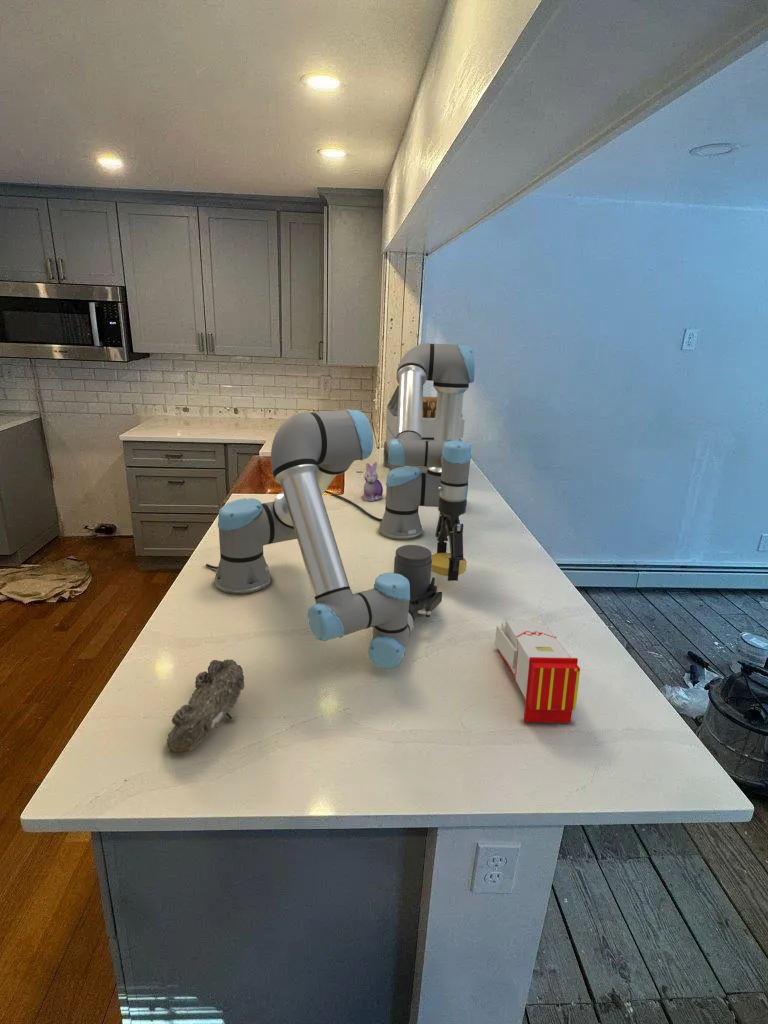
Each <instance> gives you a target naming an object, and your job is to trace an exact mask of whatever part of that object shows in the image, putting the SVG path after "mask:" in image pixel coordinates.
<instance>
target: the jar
mask: <svg viewBox="0 0 768 1024" xmlns="http://www.w3.org/2000/svg"><path fill="white" fill-rule="evenodd" d="M432 555H433V554H432V551H431V550H430V549H429V548H427V547H426V546H423V545H419V544H405V545H401V546H399V547H397V548H396V550H395V556H394V561H393V573H397V574H400V575H403V576H404V577H405V578H407V579H408V581H409V584H410V599H412V598H414V597H419V596H421V595H423V594H424V593H426V592H428V591H429V586H430V583H431V580H432V572H431V567H432V559H431V556H432ZM426 605H427V604H426ZM423 607H424V606H422V607H421V608H423ZM421 615H422V614H419V615H418V616H421Z"/></svg>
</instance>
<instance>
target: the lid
mask: <svg viewBox="0 0 768 1024" xmlns="http://www.w3.org/2000/svg"><path fill="white" fill-rule="evenodd" d="M431 555H432V556H431V559H432V567H431V573H433V574H435V575H439V576H442V577H443V576H444V577H448V570H449V559H448V558H451V553H450V552H446V553H437V552H436V553H432V554H431ZM467 564H468V561H467V560H466V558H464V557H463V560H460V562H459V573H458V576H461V575H463V574H465V573H466V571H467V566H468V565H467Z"/></svg>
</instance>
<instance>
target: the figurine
mask: <svg viewBox="0 0 768 1024" xmlns="http://www.w3.org/2000/svg"><path fill="white" fill-rule="evenodd" d="M365 464H366V465H365V466H366V467H365V470H366V471H365V474H364V475H363V476H364V480H365V483H364V485H363V495H362V498H363V500H364V501H368V502H373V501H378V500H381V499H382V498H383V493H384V487H383V483H382V482H381V481H380V480H379V475H378V473H377V468H378V462H377V461H375V462H374V463H373V464H372V465H370V463H369V462H366V463H365Z"/></svg>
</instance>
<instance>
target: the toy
mask: <svg viewBox="0 0 768 1024" xmlns="http://www.w3.org/2000/svg"><path fill="white" fill-rule="evenodd" d="M494 645H495V647H496V648H497V651H498V653H499V654H500V656H501V658H502V660H503V661H504V663H505V665H506V666H507V668H508V670H509V671H510V673H511V675H512V676H513V678H514V679H515V682H516V684H517V686H518V688H519V690H520V692H521V693H522V695H523V697H524V699H525V701H524V703H525V705H524V712H523V713H524V714H523V722H524V723H550V724H551V723H552V724H553V723H554V724H556V723H557V724H558V723H559V724H561V723H562V724H571V723H572V717H573V716H572V715H573V711H576V708H577V699H578V692H579V682H580V674H581V667H580V666H579V664H578V663H579V662H578V661H579V659H578V658H577V657H572V656H571V655H570V653H569V652H568V651H567V649H566V648H565V647H564V645H563V644H562V643H561V641H560V639H558V637H556V635H555V634H554V632H553V631H552V630H551V628H550V626H549V625H547V623H546V622H545V621H544V620H517V619H516V620H513V619H512V620H511V619H510V620H509V619H506V620H505V622H501V627H500V626H499V625H497V626H496V628H495V637H494Z"/></svg>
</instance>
